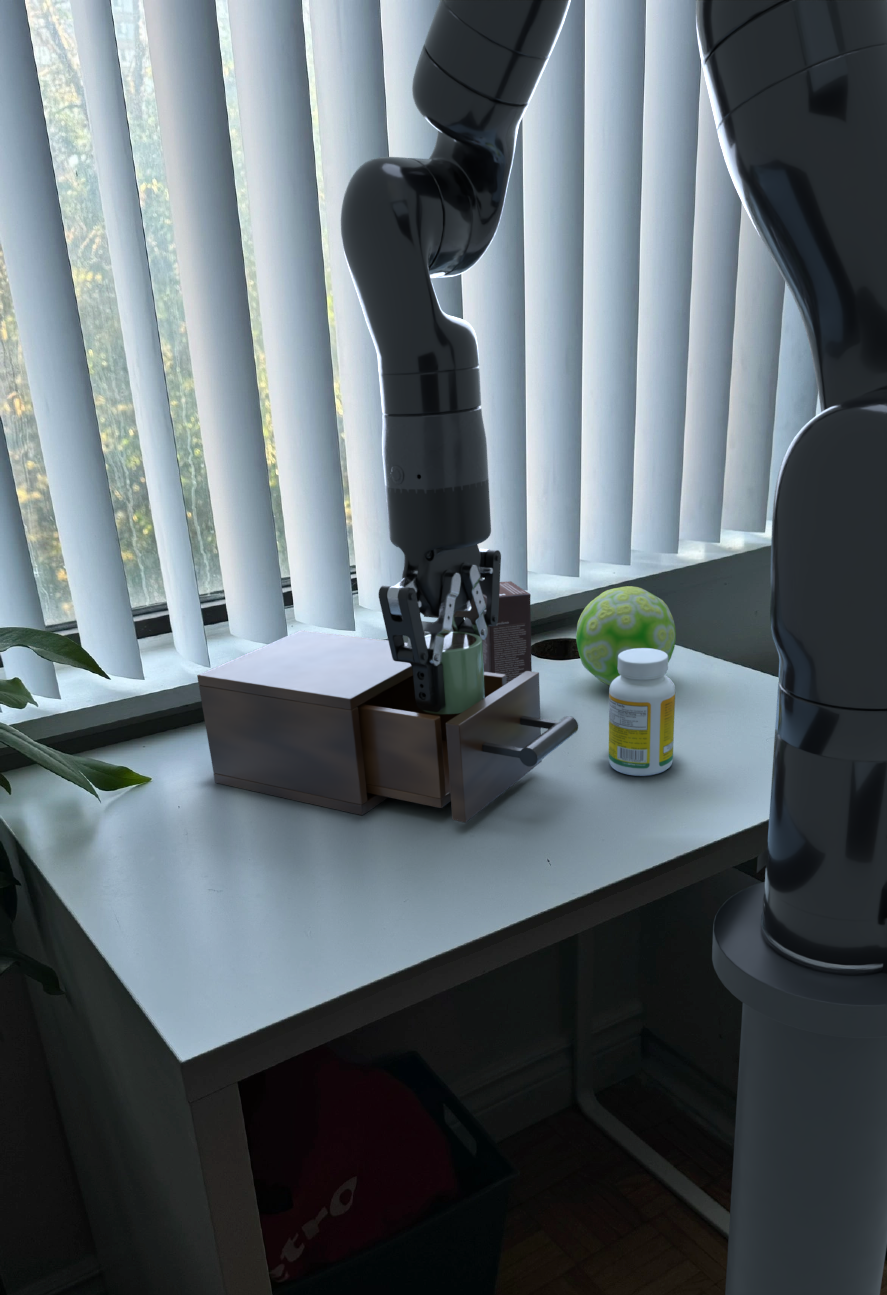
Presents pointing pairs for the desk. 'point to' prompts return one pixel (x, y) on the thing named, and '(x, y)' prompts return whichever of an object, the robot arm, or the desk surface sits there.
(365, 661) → the cabinet
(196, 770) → the desk surface
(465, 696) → the pot
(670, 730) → the supplement bottle
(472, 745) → the drawer
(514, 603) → the box
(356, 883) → the desk surface
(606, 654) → the decorative ball
